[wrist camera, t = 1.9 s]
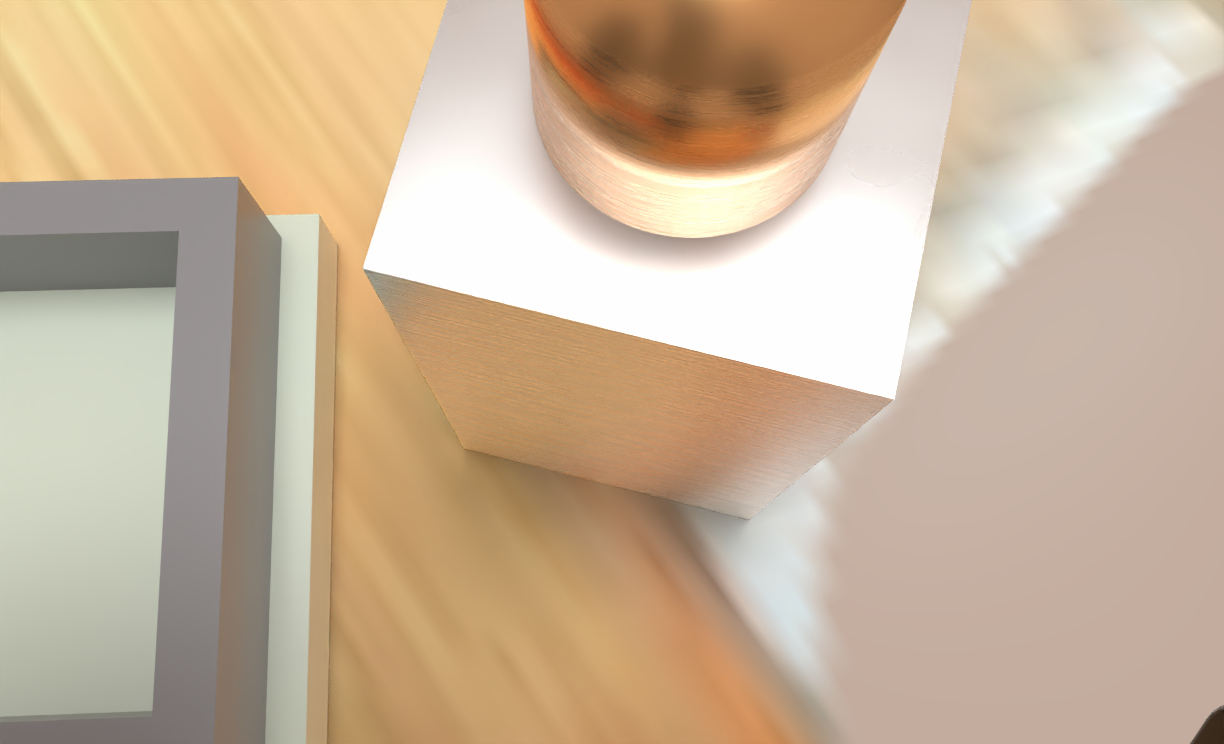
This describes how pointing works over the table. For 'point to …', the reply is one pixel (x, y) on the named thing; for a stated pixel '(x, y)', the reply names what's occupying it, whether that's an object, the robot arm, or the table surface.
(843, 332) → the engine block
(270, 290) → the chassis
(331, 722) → the table surface
